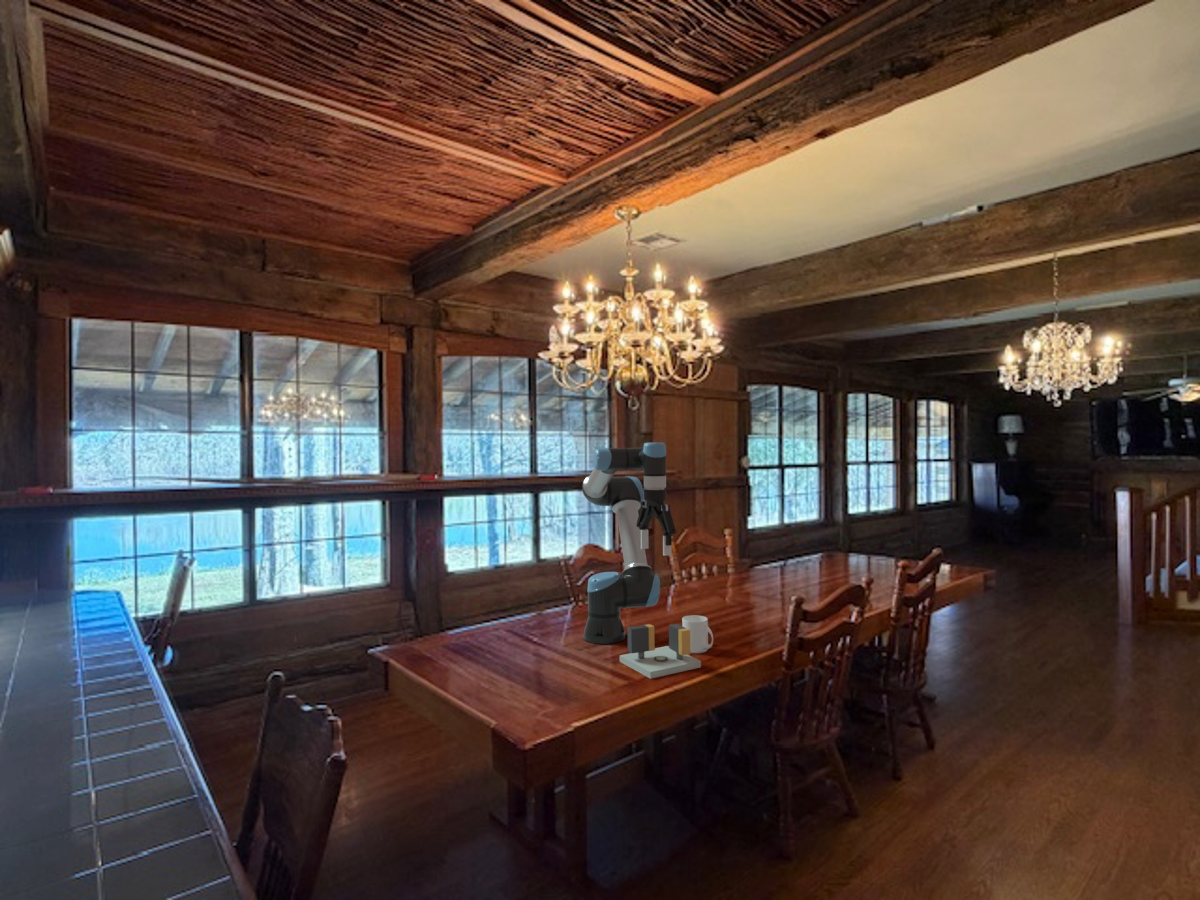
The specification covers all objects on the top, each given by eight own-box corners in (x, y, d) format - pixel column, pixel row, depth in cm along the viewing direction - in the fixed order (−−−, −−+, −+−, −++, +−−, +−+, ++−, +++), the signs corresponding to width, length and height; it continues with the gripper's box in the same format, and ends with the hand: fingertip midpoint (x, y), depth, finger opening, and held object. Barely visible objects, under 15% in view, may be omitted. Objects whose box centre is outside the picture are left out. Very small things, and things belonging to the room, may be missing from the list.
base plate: (619, 661, 206) (619, 653, 206) (667, 651, 216) (667, 643, 216) (650, 678, 191) (650, 669, 191) (700, 667, 200) (700, 658, 200)
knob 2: (669, 655, 205) (668, 624, 205) (677, 653, 206) (677, 623, 206) (682, 662, 198) (681, 631, 198) (690, 661, 199) (690, 629, 199)
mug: (704, 658, 208) (704, 625, 208) (677, 649, 218) (677, 618, 218) (721, 652, 214) (720, 620, 214) (694, 644, 223) (693, 613, 223)
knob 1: (631, 660, 200) (631, 629, 200) (627, 657, 203) (627, 627, 203) (654, 657, 203) (654, 626, 203) (650, 654, 206) (650, 624, 206)
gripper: (686, 490, 203) (686, 556, 204) (644, 485, 225) (644, 545, 226) (667, 492, 200) (667, 559, 200) (626, 486, 221) (626, 547, 222)
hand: (655, 551), depth 213 cm, fingers open, 13 cm apart
